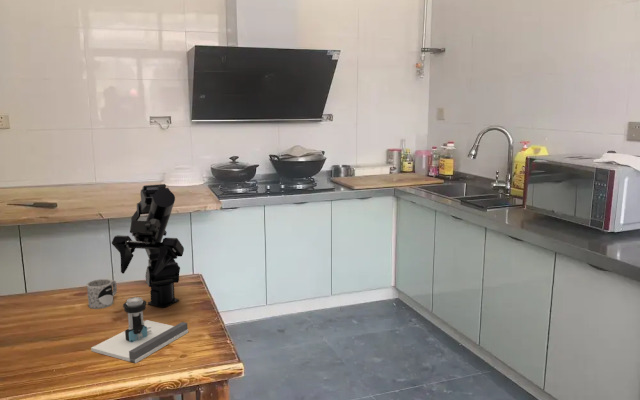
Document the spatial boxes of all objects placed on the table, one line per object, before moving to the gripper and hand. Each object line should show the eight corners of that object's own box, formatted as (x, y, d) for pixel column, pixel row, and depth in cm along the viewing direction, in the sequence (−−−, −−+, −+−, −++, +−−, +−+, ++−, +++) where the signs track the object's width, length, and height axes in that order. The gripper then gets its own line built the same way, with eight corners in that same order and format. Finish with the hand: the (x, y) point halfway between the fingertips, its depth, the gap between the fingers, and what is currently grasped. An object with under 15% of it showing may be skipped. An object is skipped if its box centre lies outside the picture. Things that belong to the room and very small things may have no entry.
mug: (102, 310, 146) (100, 287, 145) (83, 307, 148) (81, 285, 147) (125, 298, 155) (124, 277, 154) (107, 295, 157) (106, 274, 156)
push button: (145, 330, 131) (142, 292, 129) (157, 335, 127) (155, 297, 126) (121, 339, 125) (118, 300, 124) (133, 345, 122) (130, 305, 120)
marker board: (146, 322, 137) (146, 313, 137) (188, 332, 131) (187, 323, 131) (91, 350, 121) (90, 341, 121) (135, 363, 115) (135, 352, 115)
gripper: (112, 206, 139) (91, 257, 130) (177, 208, 136) (159, 261, 127) (130, 228, 148) (111, 277, 139) (190, 230, 145) (175, 281, 136)
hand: (138, 273), depth 135 cm, fingers open, 9 cm apart
